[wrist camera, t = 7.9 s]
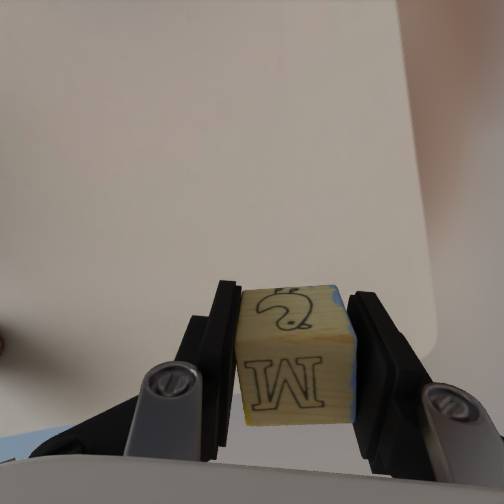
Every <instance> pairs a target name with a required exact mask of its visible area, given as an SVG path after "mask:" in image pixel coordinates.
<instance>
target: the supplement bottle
mask: <svg viewBox="0 0 504 504" xmlns="http://www.w3.org/2000/svg"><path fill="white" fill-rule="evenodd" d="M2 351H3V344H2V340H1V338H0V358H1V356H2Z"/></svg>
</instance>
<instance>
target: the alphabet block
mask: <svg viewBox="0 0 504 504" xmlns="http://www.w3.org/2000/svg"><path fill="white" fill-rule="evenodd" d="M356 350H357V337H356V334H355V332H354V329H353V327H352V325H351V322H350V319H349V317H348V314H347V312H346V309H345V306H344V304H343V301H342V299H341V296H340V293H339V290H338V288H337V287H336V286H335V285H318V286H306V287H285V288H273V289H257V290H244V291H243V292H242V296H241V301H240V307H239V315H238V320H237V326H236V333H235V340H234V353H235V358H236V363H237V372H238V377H239V383H240V390H241V394H242V402H243V409H244V413H245V421H246V424H247V426H278V425H304V424H305V425H306V424H336V423H354V422H355V421H356V407H357V406H356V386H357V382H356V373H357V372H356V370H357V361H356Z"/></svg>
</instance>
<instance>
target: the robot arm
mask: <svg viewBox="0 0 504 504" xmlns="http://www.w3.org/2000/svg"><path fill="white" fill-rule="evenodd" d="M241 289H242V286H236V281H225V280H220V281H219V284H218V288H217V291H216V294H215V298H214V301H213V304H212V308H211V311H210V314H209V317H207V316H195V315H193V316H192V317H191V319H190V321H189V324H188V327H187V329H186V332H185V334H184V337H183V339H182V342H181V345H180V347H179V350H178V352H177V355H176V357H175V360H174V361H169V362H165V363H162V364H159V365H157V366H155V367H153V368H152V369H150V370H149V371H148V372H147V373H146V375H145V377H144V379H143V381H142V385H141V389H140V393H139V395H137V396H135V397H133V398H131V399H129V400H127V401H125V402H123V403H121V404H119V405H117V406H115V407H113V408H111V409H109V410H107V411H105V412H103V413H100V414H98V415H96V416H94V417H92V418H90V419H88V420H86V421H84V422H82V423H80V424H78V425H76V426H74V427H72V428H70V429H68V430H66V431H64V432H62V433H60V434H58V435H56V436H54V437H52V438H50V439H49V440H47V441H45V442H44V443H42V444H41V445H40V446H39V447H38V448H37V449H35V450H34V451H33V452H32V453H31V455H30V456H29V458H27V459H20V460H15V458H13V459H10V460H7V461H4V462H1V463H0V504H504V437H503V436H501V435H499V433H498V431H497V430H496V427H495V426H494V424H493V422H492V421H491V419H490V417H489V415H488V413H487V412H486V410H485V408H484V407H483V406H482V404H481V403H480V402H479V401H478V400H477V399H476V398H474V397H473V396H472V395H470V394H469V393H467V392H466V391H464V390H462V389H460V388H457V387H455V386H453V385H449V384H445V383H436V382H433V381H432V379H431V378H430V376H429V374H428V373H427V372H426V370H425V368H424V367H423V365H422V363H421V362H420V360H419V359H418V357H417V356H416V354H415V352H414V351H413V349H412V348H411V346H410V345H409V343H408V341H407V340H406V338H405V337H404V335H403V334H402V333H400V332H399V331H398V329H397V328H396V326H395V324H394V323H393V321H392V319H391V318H390V316H389V315H388V313H387V311H386V310H385V308H384V307H383V305H382V303H381V302H380V300H379V299H378V297H377V295H376V294H375V293H374V292H363V291H357V292H356V293H355V295H350V297H349V301H348V307H347V314H348V317H349V319H350V322H351V325H352V327H353V329H354V332H355V334H356V337H357V350H356V361H357V370H356V372H357V373H356V382H357V386H356V406H357V407H356V421H355V422H354V423H352V424H353V427H354V431H355V435H356V438H357V442H358V445H359V449H360V453H361V456H362V458H363V459H368V461H369V464H370V467H371V471H372V474H383V475H390V476H392V477H393V478H386V477H374V476H364V475H352V474H341V473H329V472H318V471H306V470H295V469H283V468H271V467H258V466H246V465H234V464H222V463H210V462H208V461H209V460H216V459H217V452H218V446H219V447H226V441H227V434H228V425H229V418H230V410H231V402H232V394H233V387H234V379H235V371H236V358H235V353H234V340H235V333H236V326H237V320H238V315H239V307H240V301H241Z"/></svg>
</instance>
